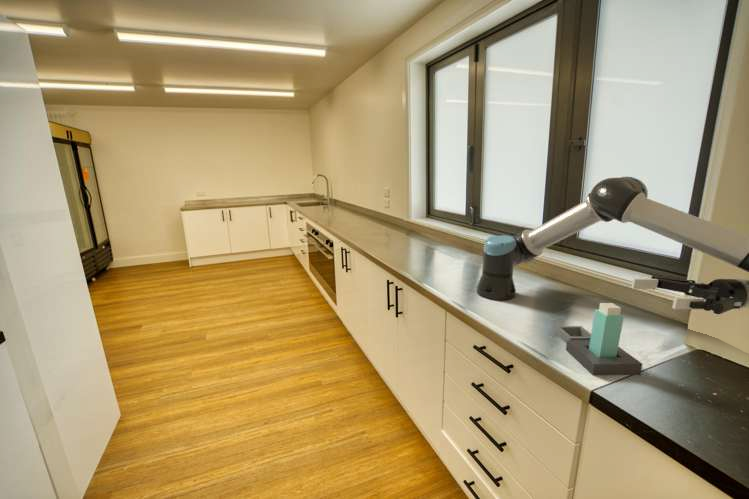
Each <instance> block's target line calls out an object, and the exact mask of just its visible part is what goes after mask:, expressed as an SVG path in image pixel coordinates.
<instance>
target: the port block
mask: <svg viewBox="0 0 749 499" xmlns="http://www.w3.org/2000/svg"><path fill="white" fill-rule="evenodd" d="M589 345H590V340H567V344H566V345H565V351H566V352H567V353H569V354H570V355H571V356H572V357H573V358H574V359H575V361H577V362H578V364H579V363H580V365H581V366H582V367H583V368H585V370H587V371H588V373H590V374H591V375H592V376H616V375H617V376H622V375H623V376H627V375H628V376H629V375H630V376H631V375H632V376H633V375H634V376H636V375H637V376H638V375H639V376H641V373H642V370H643V363H642V362H641V361H639V360H638V359H637V358H635V357H634V356H632V355H631V354H630V353H628V352H627V351H626V350H624V349H622V348H621V347H620V346H619V345H618V351H617V356H616V357H609V358H598V357H597V356H596V355H595V354H594V353H592V352H591V351H590V350H589Z"/></svg>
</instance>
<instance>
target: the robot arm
mask: <svg viewBox="0 0 749 499" xmlns="http://www.w3.org/2000/svg"><path fill="white" fill-rule="evenodd" d="M590 191H591V192H590V193H588V194H587V196H586V199H585V200H584V201H583V202H581V203H579V204H577V205H575V206H573V207H572V208H569V209H568V210H566V211H564V212H562V213H561V214H558V215H556V216H555V217H553V218H552V219H550V220H548V221H545V223H543V224H541V225H539V226H538V227H536V228H534V229H524V230H522V231H520V232H519V233H517V234H516V235H514V236H510V235H503V234H502V235H501V234H500V235H492V236H489V237H488V238H486V239H485V241H484V244H483V245H484V246H483V257H482V272H481V275H480V279H479V280H478V284H477V285H476V294H477V295H479V296H480V297H481V298H482V297H483V298H485V299H489V300H494V301H508V300H512V299H514V298H515V297H516V294H517V293H516V291H517V290H516V285H515V282H514V279H513V276H514V275H513V274H514V267H515V266H518V265H521V264H524V263H529V262H531V261H533V260H534V259H535V258H537V257H538V256H541V255H542V254H543V252H544V249H546V248H548V247H551V246H552V245H554V244H556V243H559V242H560V241H562V240H564V239H567V238H569V237H570V236H572V235H574V234H576V233H578V232H581V231H583V230H584V229H587V228H588V227H591V226H593V225H595V224H597V223H599V222H606V223H609V222H611V221H614V220H616V221H617V222H620V223H623V224H625V223H632V224H634V225H637V226H639V227H641V228H644V229H646V230H649V231H650V232H653V233H655V234H658V235H661V236H663V237H665V238H667V239H670V240H673V241H675V242H677V243H679V244H682V245H684V246H686V247H688V248H692V249H693V250H696V251H698V252H701V253H703V254H705V255H708V256H709V257H710V256H711V257H712V258H715V259H717V260H720V261H722V262H725V263H727V264H729V265H732V266H734V267H737V268H738V269H741V270H743V271H745V272H747V273H749V235H746V234H745V233H744V234H743V233H741V232H739V231H735V230H733V229H732V228H731V229H730V228H728V227H725V226H723V225H720V224H717V223H714V222H711V221H709V220H706V219H704V218H701V217H698V216H695V215H693V214H691V213H688V212H684V211H682V210H679V209H677V208H675V207H674V208H673V207H671V206H670V205H669V206H668V205H666V204H664V203H661V202H658V201H655V200H652V199H649V198H648V194H649V193H648V192H649V191H648V188H647V186H646V185H645V183H644V182H643V181H642V180H640V179H639V178H636V177H632V176H621V177H608V178H605V179H603V180H601V181H599V182H598V183H596V184H595V185H594V187H592V189H591V190H590ZM746 279H747V278H733V279H732V278H717V279H714V280H712V281H710V282H709V283H703V282H702V283H697V282H696V280H693V279H681V278H673V277H665V276H656V275H652V276H651V278H633V279H632V282H631V289H633V290H637V289H638V290H639V289H641V290H653V291H655V290H657V289H661V290H668V291H674V292H677V293H683V294H684V295H685V296H689V297H679V296H678V297H677V296H675V297H674V299H673V303H672V306H671V308H672V309H674V310H704V311H707V312H708V311H709V312H710V311H713V314H716V315H721V314H724V313H726V312H729V311H731V310H737V309H738V310H741V309H740V308H743V309H749V280H746ZM690 291H691V292H690Z"/></svg>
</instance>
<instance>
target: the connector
mask: <svg viewBox="0 0 749 499" xmlns="http://www.w3.org/2000/svg"><path fill="white" fill-rule="evenodd" d="M621 311H622V307H620V306H618V305H616V304H615V303H613V302H606V303H605V302H599V306H598V309H597V308H595V309H594V313H593V321H592V326H591V332H590V333H591V338H590V345H589V350H590V351H591V352H592V353H594V354H595V355H596V356H597V357H598V358H609V357H616V356H617V351H618V346H619V343H620V339H621V335H622V334H621V333H622V327H623V323H624V317H625V316H624V315H623V314H621Z"/></svg>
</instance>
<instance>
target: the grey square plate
mask: <svg viewBox="0 0 749 499" xmlns="http://www.w3.org/2000/svg"><path fill="white" fill-rule="evenodd" d="M555 335H556V336H558V337H559V338H560V339H561V340H562V341H563V342H564V343H565V344H566V345H567V340H590V338H591V332H590V331H588V330H587V329H585V328H584V327H583V326H582V325H564V326H562V325H558V326H557V325H556V327H555ZM572 335H573V336H572ZM574 335H576V336H574ZM577 335H578V336H577Z"/></svg>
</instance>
